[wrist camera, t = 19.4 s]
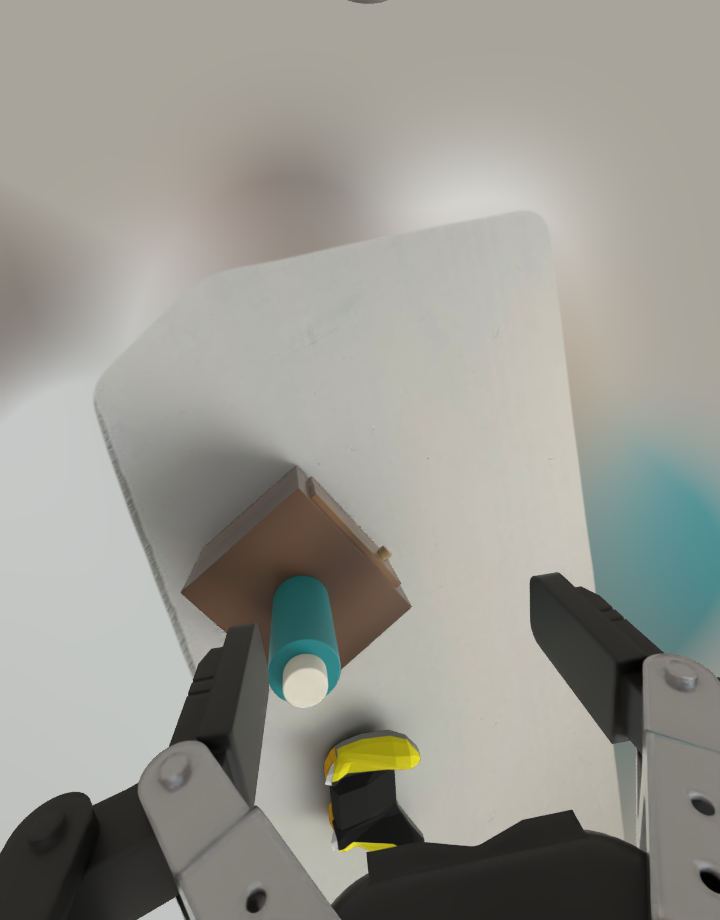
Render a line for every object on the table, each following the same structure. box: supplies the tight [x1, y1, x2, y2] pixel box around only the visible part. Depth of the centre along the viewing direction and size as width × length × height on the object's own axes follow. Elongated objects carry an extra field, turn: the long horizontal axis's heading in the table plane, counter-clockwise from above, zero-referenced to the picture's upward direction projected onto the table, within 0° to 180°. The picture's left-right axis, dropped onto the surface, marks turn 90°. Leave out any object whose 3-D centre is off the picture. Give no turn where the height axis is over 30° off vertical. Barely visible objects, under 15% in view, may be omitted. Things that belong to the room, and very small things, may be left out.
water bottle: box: [268, 576, 341, 708], centre depth 29 cm, size 4×4×10 cm
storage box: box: [181, 466, 412, 669], centre depth 39 cm, size 14×13×9 cm
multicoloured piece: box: [324, 730, 424, 852], centre depth 46 cm, size 15×6×10 cm
